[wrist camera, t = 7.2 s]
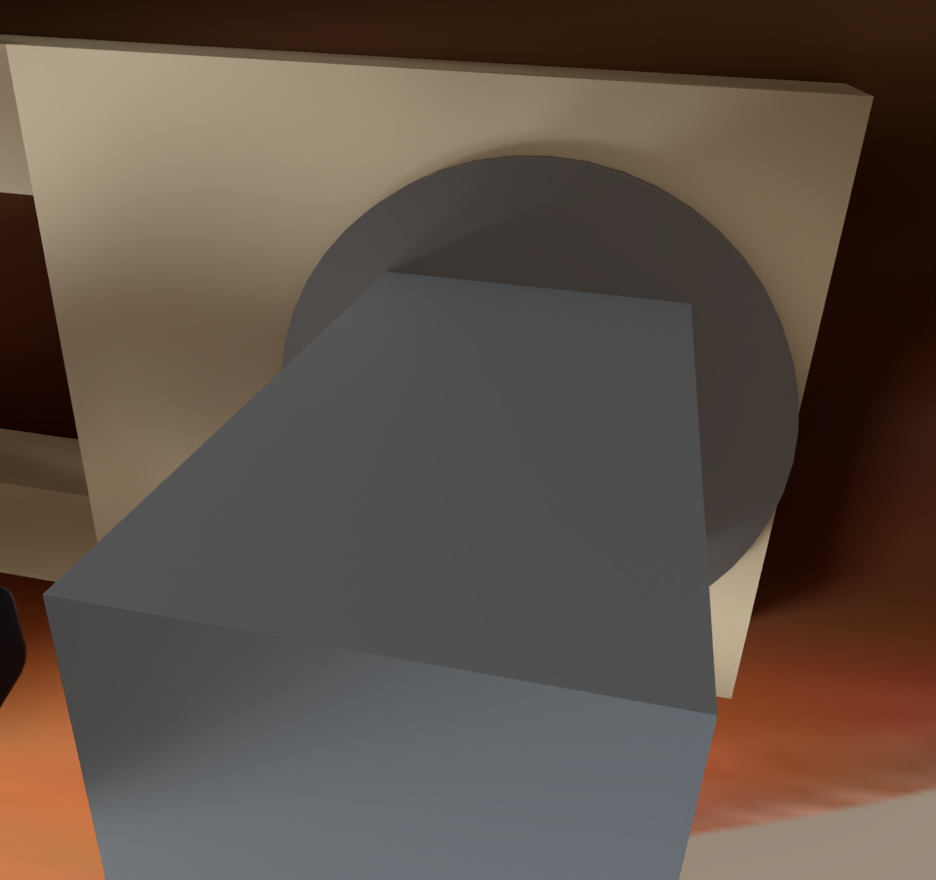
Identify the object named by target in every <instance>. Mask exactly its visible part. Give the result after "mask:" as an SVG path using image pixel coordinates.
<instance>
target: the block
mask: <svg viewBox="0 0 936 880" xmlns="http://www.w3.org/2000/svg"><path fill="white" fill-rule="evenodd" d="M43 599H44V603H45V608H46V612H47V617H48V621H49V626H50V630H51V635H52V639H53V644H54V648H55V653H56V657H57V662H58V666H59V671H60V675H61V680H62V684H63V689H64V693H65V698H66V702H67V707H68V711H69V716H70V720H71V725H72V729H73V734H74V738H75V743H76V747H77V752H78V756H79V761H80V765H81V770H82V774H83V779H84V783H85V788H86V792H87V797H88V801H89V806H90V810H91V815H92V819H93V824H94V828H95V833H96V837H97V842H98V846H99V851H100V855H101V860H102V864H103V869H104V873H105V878H106V880H679V877H680V872H681V868H682V864H683V860H684V855H685V851H686V847H687V843H688V839H689V834H690V830H691V826H692V822H693V817H694V813H695V809H696V805H697V800H698V796H699V792H700V788H701V783H702V779H703V775H704V771H705V766H706V762H707V758H708V754H709V749H710V745H711V741H712V737H713V732H714V728H715V724H716V720H717V701H716V685H715V670H714V654H713V638H712V623H711V607H710V592H709V576H708V560H707V545H706V529H705V513H704V498H703V482H702V466H701V451H700V435H699V419H698V404H697V388H696V372H695V357H694V341H693V325H692V310H691V303H682V302H673V301H663V300H654V299H644V298H635V297H625V296H615V295H606V294H596V293H587V292H577V291H568V290H558V289H549V288H539V287H530V286H520V285H510V284H501V283H491V282H482V281H472V280H463V279H453V278H444V277H434V276H425V275H415V274H406V273H396V272H385V273H384V274H383V275H382V276H381V277H380V278H379V279H378V280H377V281H376V282H375V283H374V284H373V285H372V286H370V287H369V288H368V289H367V290H366V291H365V292H364V293H363V294H362V295H361V296H360V297H359V298H358V299H357V300H356V301H355V302H353V303H352V304H351V305H350V306H349V307H348V308H347V309H346V310H345V311H344V312H343V313H342V314H341V315H340V316H339V317H337V318H336V319H335V320H334V321H333V322H332V323H331V324H330V325H329V326H328V327H327V328H326V329H325V330H324V331H323V332H322V333H320V334H319V335H318V336H317V337H316V338H315V339H314V340H313V341H312V342H311V343H310V344H309V345H308V346H307V347H306V348H304V349H303V350H302V351H301V352H300V353H299V354H298V355H297V356H296V357H295V358H294V359H293V360H292V361H291V362H290V363H289V364H287V365H286V366H285V367H284V368H283V369H282V370H281V371H280V372H279V373H278V374H277V375H276V376H275V377H274V378H273V379H271V380H270V381H269V382H268V383H267V384H266V385H265V386H264V387H263V388H262V389H261V390H260V391H259V392H258V393H257V394H256V395H254V396H253V397H252V398H251V399H250V400H249V401H248V402H247V403H246V404H245V405H244V406H243V407H242V408H241V409H240V410H238V411H237V412H236V413H235V414H234V415H233V416H232V417H231V418H230V419H229V420H228V421H227V422H226V423H225V424H224V425H222V426H221V427H220V428H219V429H218V430H217V431H216V432H215V433H214V434H213V435H212V436H211V437H210V438H209V439H208V440H207V441H205V442H204V443H203V444H202V445H201V446H200V447H199V448H198V449H197V450H196V451H195V452H194V453H193V454H192V455H191V456H189V457H188V458H187V459H186V460H185V461H184V462H183V463H182V464H181V465H180V466H179V467H178V468H177V469H176V470H175V471H174V472H172V473H171V474H170V475H169V476H168V477H167V478H166V479H165V480H164V481H163V482H162V483H161V484H160V485H159V486H158V487H156V488H155V489H154V490H153V491H152V492H151V493H150V494H149V495H148V496H147V497H146V498H145V499H144V500H143V501H142V502H141V503H139V504H138V505H137V506H136V507H135V508H134V509H133V510H132V511H131V512H130V513H129V514H128V515H127V516H126V517H125V518H123V519H122V520H121V521H120V522H119V523H118V524H117V525H116V526H115V527H114V528H113V529H112V530H111V531H110V532H109V533H108V534H106V535H105V536H104V537H103V538H102V539H101V540H100V541H99V542H98V543H97V544H96V545H95V546H94V547H93V548H92V549H90V550H89V551H88V552H87V553H86V554H85V555H84V556H83V557H82V558H81V559H80V560H79V561H78V562H77V563H76V564H75V565H73V566H72V567H71V568H70V569H69V570H68V571H67V572H66V573H65V574H64V575H63V576H62V577H61V578H60V579H59V580H57V581H56V582H55V583H54V584H53V585H52V586H51V587H50V588H49V589H48V590H47V591H46V592H45V593H44V594H43Z"/></svg>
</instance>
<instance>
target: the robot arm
mask: <svg viewBox="0 0 936 880" xmlns="http://www.w3.org/2000/svg"><path fill="white" fill-rule="evenodd" d="M25 660H26V645H25V641H24V637H23V633H22V629H21V625H20V621H19V617H18V612H17V608H16V604H15V600H14V597H13V595H12V594H11V592H10V591H9V590H8V589H7V588H5V587H3V586H1V585H0V707H1V706H2V704H3V703H4V701H5V699H6V698H7V696H8V694H9V693H10V691H11V690H12V688H13V686H14V685H15V683H16V681H17V680H18V678H19V676H20V675H21V673H22V670H23V667H24V665H25Z"/></svg>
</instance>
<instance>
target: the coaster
mask: <svg viewBox="0 0 936 880" xmlns="http://www.w3.org/2000/svg"><path fill="white" fill-rule="evenodd" d="M385 272H396V273H406V274H415V275H425V276H434V277H444V278H453V279H463V280H472V281H482V282H491V283H501V284H510V285H520V286H530V287H539V288H549V289H558V290H568V291H577V292H587V293H596V294H606V295H615V296H625V297H635V298H644V299H654V300H663V301H673V302H682V303H691V310H692V325H693V341H694V357H695V372H696V388H697V404H698V419H699V435H700V451H701V466H702V482H703V498H704V513H705V529H706V545H707V560H708V576H709V587H710V586H711V585H712V584H713V583H714V582H716V581H717V580H718V579H719V578H720V577H722V576H723V575H724V574H725V573H726V572H728V571H729V570H730V569H731V568H732V567H733V566H734V565H735V564H736V563H737V562H738V561H739V560H740V558H741V557H742V556H743V555H744V554H745V553H746V552H747V551H748V550H749V549H750V548H751V547H752V545H753V544H754V542H755V541H756V540H757V538H758V537H759V535H760V534H761V532H762V531H763V529H764V528H765V526H766V525H767V524H768V522H769V521H770V519H771V517H772V515H773V513H774V511H775V509H776V507H777V505H778V503H779V501H780V499H781V497H782V495H783V493H784V490H785V486H786V483H787V480H788V477H789V474H790V471H791V468H792V465H793V461H794V455H795V449H796V442H797V436H798V428H799V395H798V389H797V382H796V375H795V368H794V362H793V359H792V356H791V352H790V349H789V346H788V343H787V339H786V336H785V333H784V330H783V327H782V324H781V321H780V319H779V316H778V314H777V312H776V310H775V308H774V306H773V304H772V302H771V300H770V298H769V296H768V293H767V291H766V289H765V288H764V286H763V285H762V283H761V282H760V280H759V279H758V277H757V276H756V274H755V273H754V271H753V270H752V268H751V267H750V265H749V264H748V262H747V261H746V259H745V258H744V257H743V256H742V255H741V254H740V253H739V251H738V250H737V249H736V248H735V247H734V246H733V245H732V244H731V243H730V241H729V240H728V239H727V238H726V237H725V236H724V235H723V234H722V233H721V232H720V231H719V230H718V229H717V228H716V227H715V226H713V225H712V224H711V223H710V222H709V221H707V220H706V219H705V218H704V217H702V216H701V215H700V214H699V213H698V212H696V211H695V210H694V209H693V208H692V207H690V206H689V205H687V204H685V203H684V202H682V201H680V200H679V199H677V198H676V197H674V196H672V195H671V194H669V193H668V192H666V191H664V190H663V189H661V188H659V187H657V186H655V185H653V184H651V183H648V182H646V181H644V180H642V179H639V178H637V177H635V176H633V175H630V174H628V173H626V172H623V171H620V170H616V169H613V168H609V167H606V166H602V165H599V164H596V163H592V162H589V161H583V160H576V159H569V158H562V157H555V156H531V155H511V156H503V157H496V158H488V159H481V160H474V161H471V162H467V163H464V164H460V165H456V166H453V167H449V168H445V169H442V170H439V171H437V172H435V173H432V174H430V175H428V176H426V177H423V178H421V179H419V180H416V181H414V182H412V183H409V184H408V185H406V186H404V187H403V188H401V189H400V190H398V191H396V192H395V193H393V194H392V195H390V196H388V197H387V198H385V199H384V200H382V201H380V202H379V203H377V204H376V205H374V206H373V207H372V208H370V209H369V210H368V211H367V212H366V213H364V214H363V215H362V216H361V217H360V218H359V219H357V220H356V221H355V222H354V223H353V224H351V225H350V226H349V227H348V228H347V229H346V230H345V231H344V232H343V233H342V234H341V235H340V236H339V238H338V239H337V240H336V241H335V242H334V243H333V244H332V246H331V247H330V248H329V249H328V250H327V251H326V252H325V253H324V255H323V257H322V258H321V260H320V261H319V263H318V264H317V266H316V267H315V269H314V270H313V272H312V273H311V275H310V277H309V278H308V280H307V282H306V284H305V286H304V288H303V290H302V293H301V295H300V297H299V299H298V301H297V304H296V306H295V308H294V311H293V315H292V318H291V321H290V325H289V328H288V332H287V335H286V340H285V347H284V354H283V361H282V369H283V368H284V367H285V366H286V365H287V364H289V363H290V362H291V361H292V360H293V359H294V358H295V357H296V356H297V355H298V354H299V353H300V352H301V351H302V350H303V349H304V348H306V347H307V346H308V345H309V344H310V343H311V342H312V341H313V340H314V339H315V338H316V337H317V336H318V335H319V334H320V333H322V332H323V331H324V330H325V329H326V328H327V327H328V326H329V325H330V324H331V323H332V322H333V321H334V320H335V319H336V318H337V317H339V316H340V315H341V314H342V313H343V312H344V311H345V310H346V309H347V308H348V307H349V306H350V305H351V304H352V303H353V302H355V301H356V300H357V299H358V298H359V297H360V296H361V295H362V294H363V293H364V292H365V291H366V290H367V289H368V288H369V287H370V286H372V285H373V284H374V283H375V282H376V281H377V280H378V279H379V278H380V277H381V276H382V275H383V274H384V273H385Z"/></svg>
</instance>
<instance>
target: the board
mask: <svg viewBox="0 0 936 880" xmlns="http://www.w3.org/2000/svg"><path fill="white" fill-rule="evenodd" d="M873 98H874V96H871V95H869V94H867V93H865V92H863V91H861V90H859V89H856V88H854V87H852V86H850V85H848V84H844V83H827V82H810V81H793V80H775V79H758V78H741V77H724V76H707V75H690V74H672V73H655V72H638V71H621V70H604V69H587V68H569V67H552V66H535V65H518V64H501V63H484V62H467V61H449V60H432V59H415V58H398V57H381V56H364V55H346V54H329V53H312V52H295V51H278V50H261V49H243V48H226V47H209V46H192V45H175V44H158V43H140V42H123V41H106V40H89V39H72V38H55V37H38V36H20V35H3V34H0V192H4V193H15V194H26V195H33V196H34V201H35V207H36V212H37V217H38V223H39V228H40V234H41V239H42V244H43V250H44V255H45V261H46V266H47V272H48V277H49V282H50V288H51V293H52V299H53V304H54V309H55V315H56V320H57V326H58V331H59V336H60V342H61V347H62V353H63V358H64V364H65V369H66V374H67V380H68V385H69V391H70V396H71V401H72V407H73V412H74V418H75V423H76V428H77V434H78V439H71V438H64V437H57V436H50V435H43V434H36V433H29V432H22V431H15V430H8V429H1V428H0V572H2V573H8V574H13V575H19V576H25V577H31V578H37V579H42V580H48V581H54V582H56V581H57V580H59V579H60V578H61V577H62V576H63V575H64V574H65V573H66V572H67V571H68V570H69V569H70V568H71V567H72V566H73V565H75V564H76V563H77V562H78V561H79V560H80V559H81V558H82V557H83V556H84V555H85V554H86V553H87V552H88V551H89V550H90V549H92V548H93V547H94V546H95V545H96V544H97V543H98V542H99V541H100V540H101V539H102V538H103V537H104V536H105V535H106V534H108V533H109V532H110V531H111V530H112V529H113V528H114V527H115V526H116V525H117V524H118V523H119V522H120V521H121V520H122V519H123V518H125V517H126V516H127V515H128V514H129V513H130V512H131V511H132V510H133V509H134V508H135V507H136V506H137V505H138V504H139V503H141V502H142V501H143V500H144V499H145V498H146V497H147V496H148V495H149V494H150V493H151V492H152V491H153V490H154V489H155V488H156V487H158V486H159V485H160V484H161V483H162V482H163V481H164V480H165V479H166V478H167V477H168V476H169V475H170V474H171V473H172V472H174V471H175V470H176V469H177V468H178V467H179V466H180V465H181V464H182V463H183V462H184V461H185V460H186V459H187V458H188V457H189V456H191V455H192V454H193V453H194V452H195V451H196V450H197V449H198V448H199V447H200V446H201V445H202V444H203V443H204V442H205V441H207V440H208V439H209V438H210V437H211V436H212V435H213V434H214V433H215V432H216V431H217V430H218V429H219V428H220V427H221V426H222V425H224V424H225V423H226V422H227V421H228V420H229V419H230V418H231V417H232V416H233V415H234V414H235V413H236V412H237V411H238V410H240V409H241V408H242V407H243V406H244V405H245V404H246V403H247V402H248V401H249V400H250V399H251V398H252V397H253V396H254V395H256V394H257V393H258V392H259V391H260V390H261V389H262V388H263V387H264V386H265V385H266V384H267V383H268V382H269V381H270V380H271V379H273V378H274V377H275V376H276V375H277V374H278V373H279V372H280V371H281V370H282V361H283V354H284V347H285V340H286V335H287V332H288V328H289V325H290V321H291V318H292V315H293V311H294V308H295V306H296V304H297V301H298V299H299V297H300V295H301V293H302V290H303V288H304V286H305V284H306V282H307V280H308V278H309V277H310V275H311V273H312V272H313V270H314V269H315V267H316V266H317V264H318V263H319V261H320V260H321V258H322V257H323V255H324V253H325V252H326V251H327V250H328V249H329V248H330V247H331V246H332V244H333V243H334V242H335V241H336V240H337V239H338V238H339V236H340V235H341V234H342V233H343V232H344V231H345V230H346V229H347V228H348V227H349V226H350V225H351V224H353V223H354V222H355V221H356V220H357V219H359V218H360V217H361V216H362V215H363V214H364V213H366V212H367V211H368V210H369V209H370V208H372V207H373V206H374V205H376V204H377V203H379V202H380V201H382V200H384V199H385V198H387V197H388V196H390V195H392V194H393V193H395V192H396V191H398V190H400V189H401V188H403V187H404V186H406V185H408V184H409V183H412V182H414V181H416V180H419V179H421V178H423V177H426V176H428V175H430V174H432V173H435V172H437V171H439V170H442V169H445V168H449V167H453V166H456V165H460V164H464V163H467V162H471V161H474V160H481V159H488V158H496V157H503V156H511V155H531V156H555V157H562V158H569V159H576V160H583V161H589V162H592V163H596V164H599V165H602V166H606V167H609V168H613V169H616V170H620V171H623V172H626V173H628V174H630V175H633V176H635V177H637V178H639V179H642V180H644V181H646V182H648V183H651V184H653V185H655V186H657V187H659V188H661V189H663V190H664V191H666V192H668V193H669V194H671V195H672V196H674V197H676V198H677V199H679V200H680V201H682V202H684V203H685V204H687V205H689V206H690V207H692V208H693V209H694V210H695V211H696V212H698V213H699V214H700V215H701V216H702V217H704V218H705V219H706V220H707V221H709V222H710V223H711V224H712V225H713V226H715V227H716V228H717V229H718V230H719V231H720V232H721V233H722V234H723V235H724V236H725V237H726V238H727V239H728V240H729V241H730V243H731V244H732V245H733V246H734V247H735V248H736V249H737V250H738V251H739V253H740V254H741V255H742V256H743V257H744V258H745V259H746V261H747V262H748V264H749V265H750V267H751V268H752V270H753V271H754V273H755V274H756V276H757V277H758V279H759V280H760V282H761V283H762V285H763V286H764V288H765V289H766V291H767V293H768V296H769V298H770V300H771V302H772V304H773V306H774V308H775V310H776V312H777V314H778V316H779V319H780V321H781V324H782V327H783V330H784V333H785V336H786V339H787V343H788V346H789V349H790V352H791V356H792V359H793V362H794V368H795V375H796V382H797V389H798V395H799V410H800V406H801V402H802V398H803V393H804V389H805V385H806V381H807V376H808V372H809V368H810V364H811V359H812V355H813V351H814V347H815V343H816V338H817V334H818V330H819V326H820V321H821V317H822V313H823V309H824V305H825V300H826V296H827V292H828V288H829V283H830V279H831V275H832V271H833V267H834V262H835V258H836V254H837V250H838V245H839V241H840V237H841V233H842V229H843V224H844V220H845V216H846V212H847V207H848V203H849V199H850V195H851V191H852V186H853V182H854V178H855V174H856V169H857V165H858V161H859V157H860V152H861V148H862V144H863V140H864V136H865V131H866V127H867V123H868V119H869V114H870V110H871V106H872V102H873ZM775 512H776V509H775V511H774V513H773V515H772V517H771V519H770V521H769V522H768V524H767V525H766V526H765V528H764V529H763V531H762V532H761V534H760V535H759V537H758V538H757V540H756V541H755V542H754V544H753V545H752V547H751V548H750V549H749V550H748V551H747V552H746V553H745V554H744V555H743V556H742V557H741V558H740V560H739V561H738V562H737V563H736V564H735V565H734V566H733V567H732V568H731V569H730V570H729V571H728V572H726V573H725V574H724V575H723V576H722V577H720V578H719V579H718V580H717V581H716V582H714V583H713V584H712V585H711V586H710V587H709V592H710V607H711V623H712V638H713V654H714V670H715V685H716V696H718V697H724V698H730V699H731V697H732V693H733V689H734V685H735V681H736V676H737V672H738V668H739V664H740V659H741V655H742V651H743V647H744V643H745V638H746V634H747V630H748V626H749V621H750V617H751V613H752V609H753V605H754V600H755V596H756V592H757V588H758V583H759V579H760V575H761V571H762V566H763V562H764V558H765V554H766V550H767V545H768V541H769V537H770V533H771V528H772V524H773V520H774V516H775Z"/></svg>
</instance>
